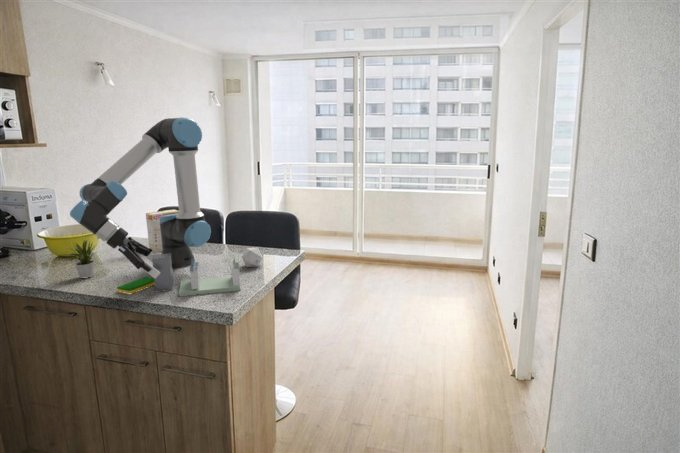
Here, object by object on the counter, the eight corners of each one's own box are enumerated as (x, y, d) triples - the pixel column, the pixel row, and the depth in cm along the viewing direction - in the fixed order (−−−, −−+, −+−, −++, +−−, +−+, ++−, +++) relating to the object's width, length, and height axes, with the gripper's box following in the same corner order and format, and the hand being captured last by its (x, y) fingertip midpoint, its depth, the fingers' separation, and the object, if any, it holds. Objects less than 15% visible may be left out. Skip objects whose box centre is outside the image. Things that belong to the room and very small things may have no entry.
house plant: (69, 273, 191) (64, 236, 187) (105, 269, 196) (100, 233, 193) (63, 283, 178) (58, 244, 174) (102, 278, 183) (97, 240, 180)
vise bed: (181, 284, 176) (179, 257, 173) (238, 278, 181) (236, 253, 179) (179, 296, 162) (176, 267, 160) (240, 290, 168) (238, 262, 166)
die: (252, 271, 193) (265, 251, 194) (235, 261, 194) (247, 241, 195) (256, 272, 201) (268, 253, 203) (239, 262, 202) (251, 243, 203)
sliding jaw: (193, 279, 176) (191, 259, 174) (199, 278, 176) (198, 258, 175) (191, 290, 164) (189, 268, 162) (198, 289, 164) (196, 268, 162)
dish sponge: (159, 284, 177) (158, 278, 177) (130, 295, 165) (129, 289, 164) (146, 282, 180) (145, 276, 180) (117, 293, 168) (116, 287, 167)
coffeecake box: (177, 244, 238) (174, 209, 234) (182, 247, 233) (179, 210, 229) (148, 249, 229) (145, 212, 225) (154, 252, 223) (150, 214, 219)
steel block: (157, 286, 173) (154, 254, 170) (173, 285, 175) (170, 253, 172) (155, 291, 168) (152, 258, 165) (172, 290, 169) (169, 257, 166)
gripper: (113, 234, 174) (157, 268, 180) (96, 250, 150) (148, 288, 157) (126, 220, 174) (170, 254, 181) (112, 234, 150) (163, 272, 157)
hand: (160, 270), depth 169 cm, fingers open, 13 cm apart
